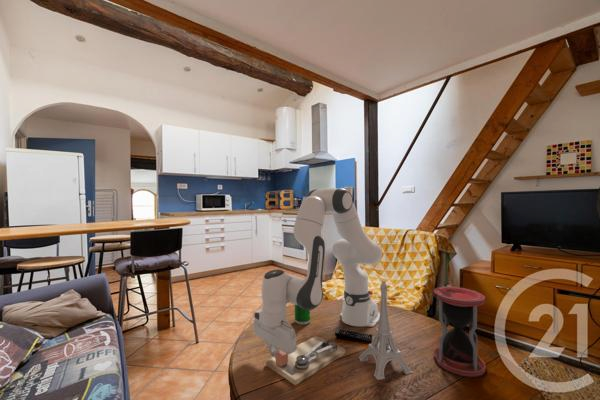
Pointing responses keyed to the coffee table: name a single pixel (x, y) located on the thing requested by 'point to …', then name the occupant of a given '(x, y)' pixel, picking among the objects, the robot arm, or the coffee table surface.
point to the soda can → (301, 315)
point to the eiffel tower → (384, 342)
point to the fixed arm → (319, 355)
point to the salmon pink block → (281, 358)
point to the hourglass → (459, 331)
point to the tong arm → (311, 352)
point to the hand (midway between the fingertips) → (274, 355)
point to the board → (299, 375)
